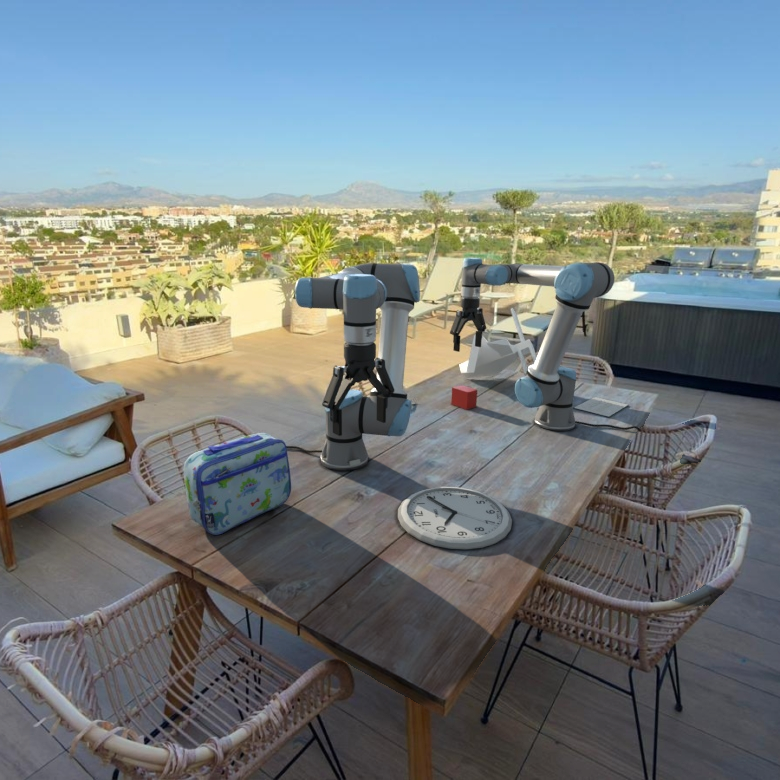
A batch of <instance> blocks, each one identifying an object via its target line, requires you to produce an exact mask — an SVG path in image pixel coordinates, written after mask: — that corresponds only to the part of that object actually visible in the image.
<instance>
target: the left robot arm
mask: <svg viewBox="0 0 780 780" xmlns="http://www.w3.org/2000/svg"><path fill="white" fill-rule="evenodd" d="M294 296H295V297H294V298H295V302H296V304H297V305H298V307H300V308H305V309H311V310H312V309H325V310H326V309H327V310H343V341H344V342H345V343H343V359H344V361H345V363H344V366H342V365H341V366H339V365H334V366H333V368H332V376H331V379H330V382H329V383H328V384H329V385H328V387H327V390H326V393H325V395H324V397H323V400H322V402H321V406H322V407H324V412H325V441H324V444H323V448H322V449H319V450H318V449H314V450H308V449H305V448H302V447H299V446H295V445H286V448H287V449H296V450H300V451H302V452H304V453H309V454H310V453H311V454H313V453H314V454H315V453H321V454H320V463H321V465H322V466H323V467H325V468H326V469H330V470H333V471H337V472H338V471H340V472H347V471H355V470H359V469H361V468H363V467H364V466H366V465H367V464H368V462H369V453H368V451H367V448H366V445H365V442H364V439H363V435H374V436H386V437H401V436H403V435H404V434H406V431H407V429H408V426H409V422H410V418H411V412H412V405H413V404H412V402H411V400H412V399H411V400H410V399H409V398H408V393H407V392H406V390H404V382H405V381H404V380H405V366H406V354H407V341H408V330H409V329H408V328H409V317H410V312H412V311H413V310H414V309H415V304H417V303H419V302H420V301H421V286H420V276H419V271H418V268H417V267H416V266H415V265H414V264H408V263H407V264H406V263H380V262H379V263H378V262H367V263H361V264H355V265H352V266H348V267H345V268H343V269H341V270H340V271H339V272H337V273H334V274H328V275H325V276H319V277H311V276H308V277H300V278H298V279H297V281H296V283H295V287H294ZM378 309H380V310H381V316H380V326H379V327H380V329H379V340H378V352H377V344H376V343H375V342H376V340H377V310H378ZM377 354H378V355H377ZM374 370H376V373H375V372H374ZM367 381H368V382H369V383H370V384H371V385H372V387H373V388H372V389H371V390H370V392H369V396H364V393H363V392H362V391H361V390H359V389H354V388H353V389H352V387H354V386H355V384H356V383H361V382H367Z"/></svg>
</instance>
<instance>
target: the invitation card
mask: <svg viewBox="0 0 780 780" xmlns="http://www.w3.org/2000/svg"><path fill="white" fill-rule="evenodd" d="M628 406H629V404H627V403H623V402H618V401H614V400H609V399H605V398H601V397H596V396H593V397H592V398H590V399H588V400H586V401H584V402H582V403H580V404H578V405H575V406H574V407H573V409H575V410H581V411H584V412H587V413H593V414H596V415H600V416H604V417H608V418H609V417H611V416H613V415H614V414H616V413H617V412H619V411H621V410H623V409H624V408H626V407H628Z"/></svg>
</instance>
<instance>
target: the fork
mask: <svg viewBox="0 0 780 780" xmlns="http://www.w3.org/2000/svg"><path fill="white" fill-rule="evenodd" d="M418 398H419V397H418V396H413V397H412V398H411V402H412V405H416V404H417V402H418Z"/></svg>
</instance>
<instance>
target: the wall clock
mask: <svg viewBox="0 0 780 780" xmlns="http://www.w3.org/2000/svg"><path fill="white" fill-rule="evenodd" d="M397 519H398V523H399V524H400V526H401V527H402V528H403V530H404V531H406V533H407V534H409V535H410V536H412V537H414V538H415V539H417V540H419V541H421V542H423V543H426V544H428V545H432V546H435V547H440V548H445V549H448V550H474V549H480V548H481V549H482V548H486V547H488V546H492V545H496V543H499V542H500V541H502V540H503V539H505V538H506V537H507V536H508V534H509V533H510V532H511V529H512V525H513V519H512V516H511V513H510V512H509V510H508V509H507V508H506V507H505V506H504V504H502V503H501V502H499V501H498V500H496V499H495V498H494V497H493V496H489V495H488V494H485V493H483V492H480V491H477V490H474V489H470V488H464V487H458V486H440V487H439V486H437V487H431V488H426V489H422V490H419V491H417V492H415V493H412V494H410V495H409V496H407V498H405V499H404V500H402V502H401V504H400V505H399V507H398V509H397Z"/></svg>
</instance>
